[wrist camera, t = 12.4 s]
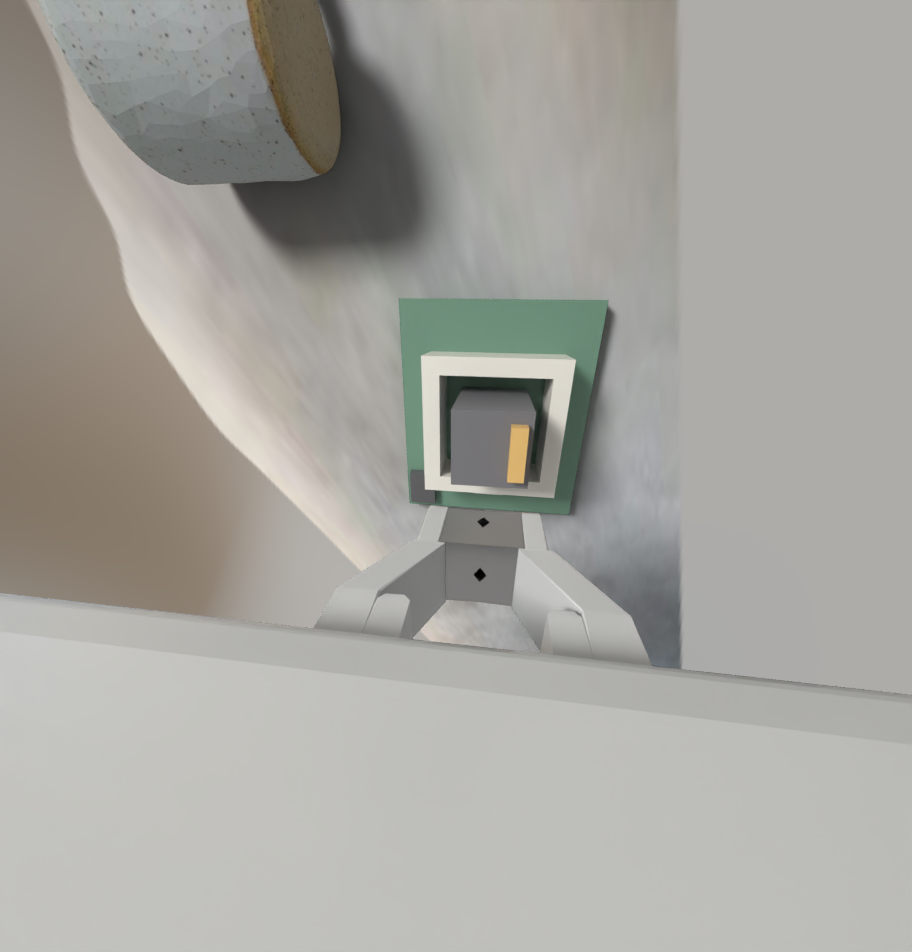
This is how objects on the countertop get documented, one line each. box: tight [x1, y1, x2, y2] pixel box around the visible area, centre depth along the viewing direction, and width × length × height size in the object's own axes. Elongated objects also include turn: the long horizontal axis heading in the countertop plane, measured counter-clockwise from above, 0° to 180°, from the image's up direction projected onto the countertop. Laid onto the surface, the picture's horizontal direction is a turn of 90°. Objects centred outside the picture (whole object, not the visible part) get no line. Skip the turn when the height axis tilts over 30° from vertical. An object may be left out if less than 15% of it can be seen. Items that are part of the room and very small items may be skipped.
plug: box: [451, 387, 536, 489], centre depth 19 cm, size 4×4×7 cm
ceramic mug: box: [38, 0, 341, 185], centre depth 13 cm, size 11×8×8 cm
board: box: [399, 298, 609, 515], centre depth 21 cm, size 14×12×4 cm
